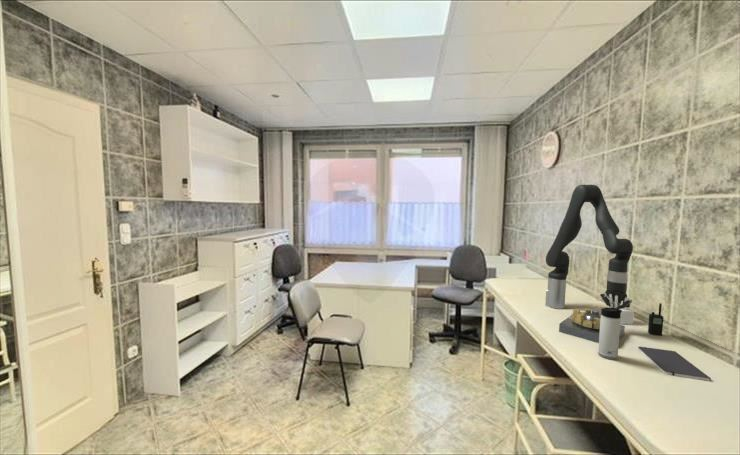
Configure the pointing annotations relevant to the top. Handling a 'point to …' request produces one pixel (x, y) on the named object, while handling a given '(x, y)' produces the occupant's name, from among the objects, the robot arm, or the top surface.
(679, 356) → the notebook
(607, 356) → the travel mug
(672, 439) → the top surface
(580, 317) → the segmented ring
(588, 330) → the domed button plate
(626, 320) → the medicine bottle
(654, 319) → the walkie-talkie
